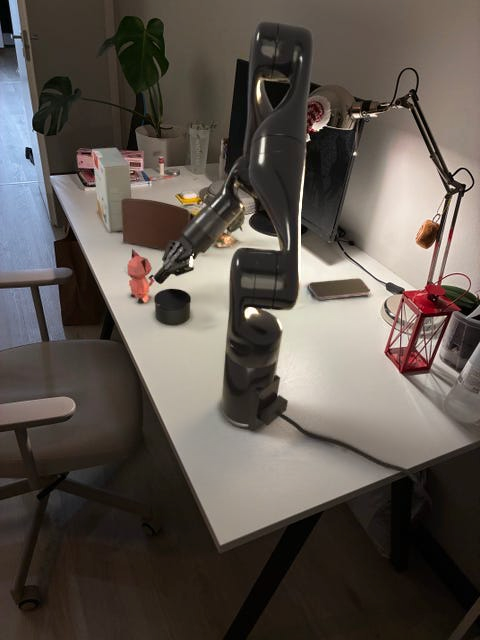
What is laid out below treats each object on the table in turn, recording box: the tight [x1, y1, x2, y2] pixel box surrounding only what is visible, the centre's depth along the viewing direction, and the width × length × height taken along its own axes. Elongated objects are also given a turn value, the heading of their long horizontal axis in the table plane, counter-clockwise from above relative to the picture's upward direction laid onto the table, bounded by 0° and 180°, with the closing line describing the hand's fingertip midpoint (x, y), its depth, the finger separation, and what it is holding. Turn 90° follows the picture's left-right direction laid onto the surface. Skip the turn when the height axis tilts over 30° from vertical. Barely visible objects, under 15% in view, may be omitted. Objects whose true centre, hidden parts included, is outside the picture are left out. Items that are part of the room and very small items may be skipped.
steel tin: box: [153, 288, 192, 326], centre depth 116 cm, size 8×8×5 cm
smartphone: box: [308, 277, 371, 300], centre depth 132 cm, size 7×1×15 cm
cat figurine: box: [123, 248, 155, 305], centre depth 119 cm, size 7×7×12 cm
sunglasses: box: [182, 203, 205, 215], centre depth 161 cm, size 14×15×5 cm
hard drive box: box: [91, 147, 133, 233], centre depth 150 cm, size 16×8×20 cm, turn 25°
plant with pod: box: [213, 205, 246, 248], centre depth 144 cm, size 8×11×20 cm
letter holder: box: [121, 198, 195, 251], centre depth 143 cm, size 10×20×14 cm, turn 76°
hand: (156, 281), depth 122 cm, fingers closed
